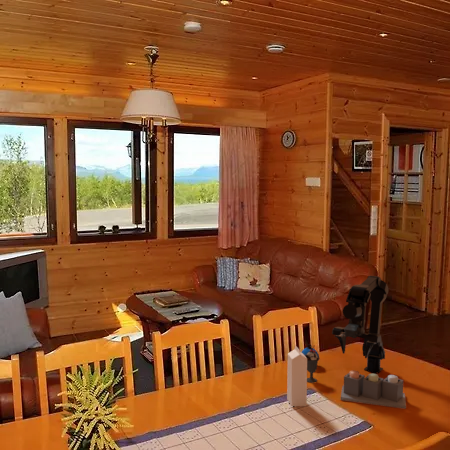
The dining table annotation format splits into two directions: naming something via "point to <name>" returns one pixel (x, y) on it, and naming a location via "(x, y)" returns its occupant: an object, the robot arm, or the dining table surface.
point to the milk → (297, 378)
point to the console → (373, 391)
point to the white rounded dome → (393, 379)
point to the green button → (373, 377)
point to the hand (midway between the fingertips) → (354, 355)
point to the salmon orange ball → (354, 374)
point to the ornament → (309, 350)
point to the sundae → (312, 364)
